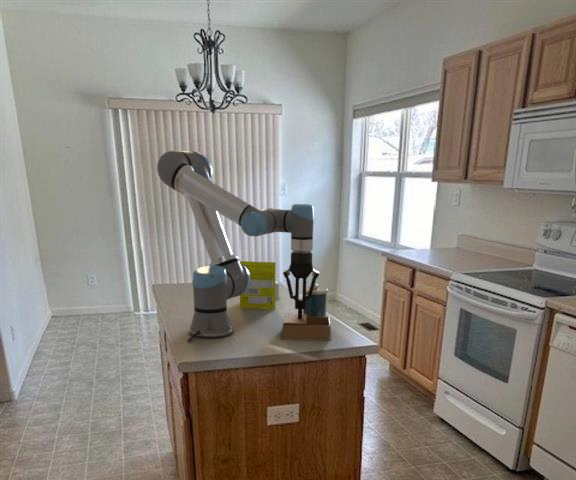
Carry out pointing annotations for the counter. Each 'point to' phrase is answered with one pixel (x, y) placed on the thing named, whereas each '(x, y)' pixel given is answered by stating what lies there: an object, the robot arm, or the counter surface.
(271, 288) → the food package
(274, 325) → the counter surface
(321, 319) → the carton
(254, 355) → the counter surface
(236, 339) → the counter surface
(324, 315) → the cookie jar
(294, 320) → the flap
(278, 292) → the lumpy-topped squat cylinder
